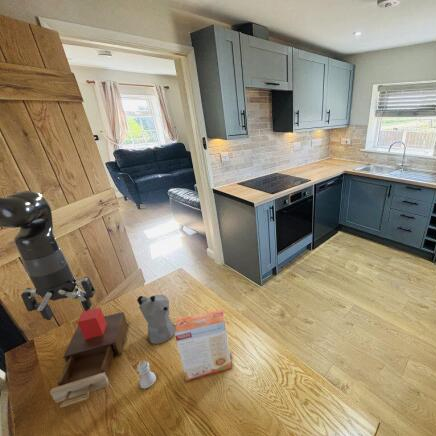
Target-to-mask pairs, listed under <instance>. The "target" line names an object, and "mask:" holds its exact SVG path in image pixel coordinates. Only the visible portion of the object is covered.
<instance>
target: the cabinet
mask: <svg viewBox="0 0 436 436" xmlns="http://www.w3.org/2000/svg"><path fill="white" fill-rule="evenodd" d="M103 316H104V315H103ZM104 319H105V321H106V324H107V325H106V328H105V331H104V333H103V335H101V336H97V337H93V338H89V339H86V340H85V338H84V336H83V334H82V332H81V329H80V327H79V325H78V324H77V326H76V329H75V331H74V333H73V336H72V337H71V339H70V341H69V343H68V345H67V347H66V350H65V352H64V353H63V356H62V358H63V360H64V361H65V364H67V362H68V359H69V357H70V356H73V355H77V354H80V353H84V352H87V351H91V350H95V349H98V348H102V347H105V346H109V345H113V348H114V350H115V353H114V357H113V358H116V357H119V356H120V355H121V351H122V347H123V344H124V340H125V336H126V332H127V328H128V325H129V324H128V321H127V319H126V315H125V312H124V311H121V312H117V313H113V314H108V315H105V316H104Z"/></svg>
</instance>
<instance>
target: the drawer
mask: <svg viewBox="0 0 436 436" xmlns="http://www.w3.org/2000/svg"><path fill="white" fill-rule="evenodd" d="M114 353H115V350H114V348H113V345H109V346H105V347H102V348H98V349H95V350H91V351H87V352H84V353H80V354H77V355H73V356H70V357H69V359H68V362H67V363H65V365H64V368H63V370H62V372H61V374H60V377H59V379H58V381H57V386H56V387H53V388H51V389H50V391H49V394H50V396H51V397H52V399H53V400H54V403H56V404H58V403H60V405H59V407H60V409H64V408H67V407H70V406H73V405H75V404H79V403H82V402H85V401H88V400H89V399H90V397H91V394H90V393H91V392H95V391H97V390H100V389H103V388H106V387H109V385H110V381H109V374H110V372H111V371H110V370H111V367H112V364H113V359H114V358H115V357H114Z"/></svg>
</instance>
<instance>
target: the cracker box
mask: <svg viewBox="0 0 436 436" xmlns="http://www.w3.org/2000/svg"><path fill="white" fill-rule="evenodd" d="M227 330H228V329H227V322H226V316H225V309H224V308H220V309H217V310H213V311H208V312H204V313H199V314H194V315H190V316H184V317H180V318H176V322H175V331H174V336H175V341H176V345H177V349H178V353H179V358H180V361H181V366H182V369H183V373H184V378H185V380H186V381H187V382H188V381H191V380H194V379H197V378H202V377H204V376H208V375H211V374H214V373H218V372H221V371H225V370H228V369H231V368H232V363H231V353H230V345H229V338H228V331H227Z"/></svg>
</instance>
